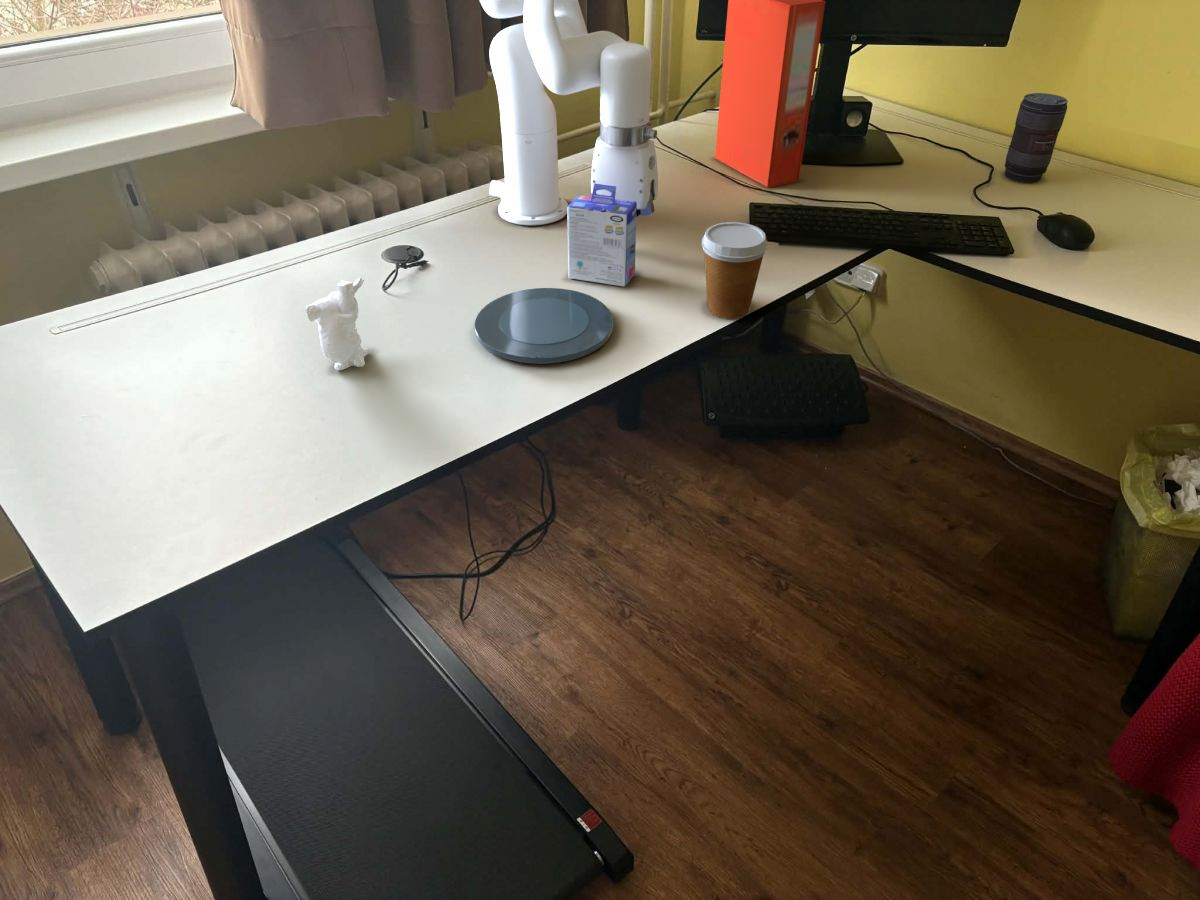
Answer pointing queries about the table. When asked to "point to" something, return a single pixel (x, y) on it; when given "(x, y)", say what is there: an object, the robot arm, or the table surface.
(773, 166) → the file binder
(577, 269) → the ink cartridge box
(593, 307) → the plate
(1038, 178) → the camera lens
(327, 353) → the white upright lumpy figure
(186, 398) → the table surface
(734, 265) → the disposable coffee cup
